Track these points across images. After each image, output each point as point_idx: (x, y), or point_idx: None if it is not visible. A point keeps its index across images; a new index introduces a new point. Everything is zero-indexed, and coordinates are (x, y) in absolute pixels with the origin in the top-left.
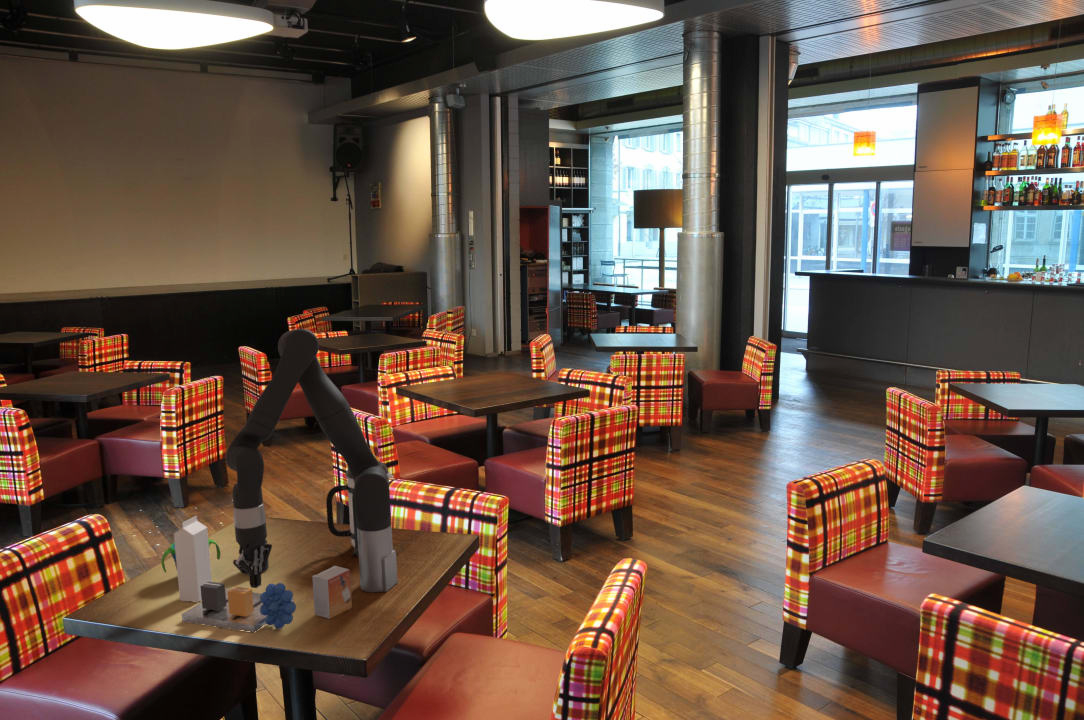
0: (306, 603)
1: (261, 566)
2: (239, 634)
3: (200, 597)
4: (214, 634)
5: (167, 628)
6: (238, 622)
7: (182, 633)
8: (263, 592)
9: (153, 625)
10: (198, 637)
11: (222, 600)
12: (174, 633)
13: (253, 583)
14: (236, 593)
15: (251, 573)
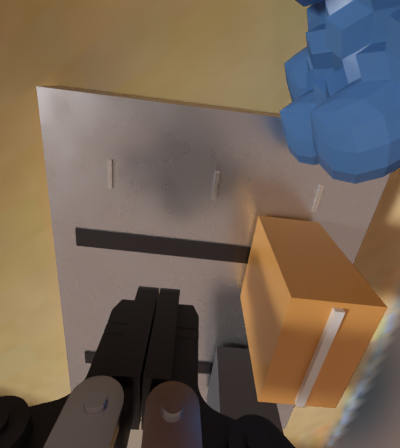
0: (7, 19)
1: (62, 431)
2: (385, 190)
3: (141, 434)
4: (375, 281)
5: (322, 413)
6: (362, 228)
7: (358, 369)
8: (387, 160)
9: (304, 444)
10: (394, 317)
11: (241, 377)
12: (356, 386)
13: (198, 331)
14: (358, 354)
15: (260, 432)
